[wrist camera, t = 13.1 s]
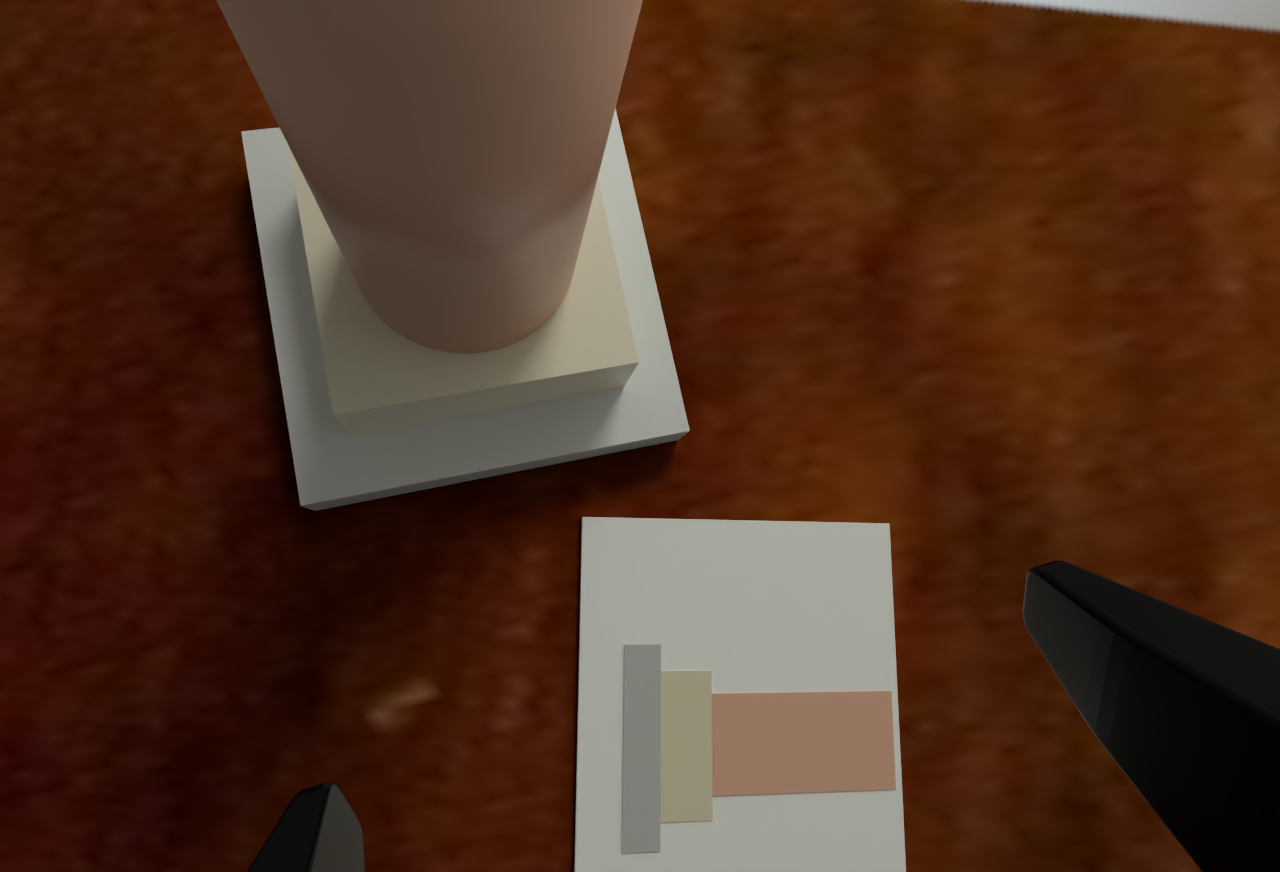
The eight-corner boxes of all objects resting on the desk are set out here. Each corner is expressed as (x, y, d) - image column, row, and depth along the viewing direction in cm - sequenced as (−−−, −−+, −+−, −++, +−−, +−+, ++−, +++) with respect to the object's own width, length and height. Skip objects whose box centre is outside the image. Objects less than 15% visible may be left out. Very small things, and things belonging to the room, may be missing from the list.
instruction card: (581, 517, 22) (582, 516, 22) (886, 524, 23) (890, 523, 23) (571, 999, 20) (572, 1003, 20) (907, 973, 21) (911, 977, 21)
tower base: (677, 440, 23) (713, 411, 19) (314, 511, 21) (271, 495, 17) (605, 122, 24) (625, 35, 20) (258, 160, 22) (206, 72, 18)
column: (528, 387, 18) (580, 69, 7) (310, 301, 18) (-46, -209, 6) (606, 195, 19) (767, -365, 8) (403, 109, 19) (251, -630, 7)
